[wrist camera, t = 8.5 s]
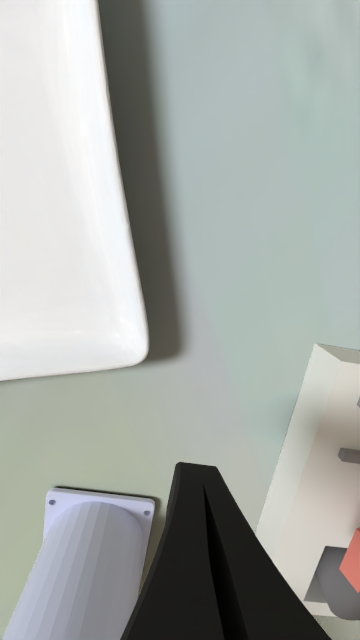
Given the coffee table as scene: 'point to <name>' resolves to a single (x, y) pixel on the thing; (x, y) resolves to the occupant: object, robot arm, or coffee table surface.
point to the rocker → (352, 561)
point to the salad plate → (62, 200)
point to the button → (337, 584)
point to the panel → (316, 475)
